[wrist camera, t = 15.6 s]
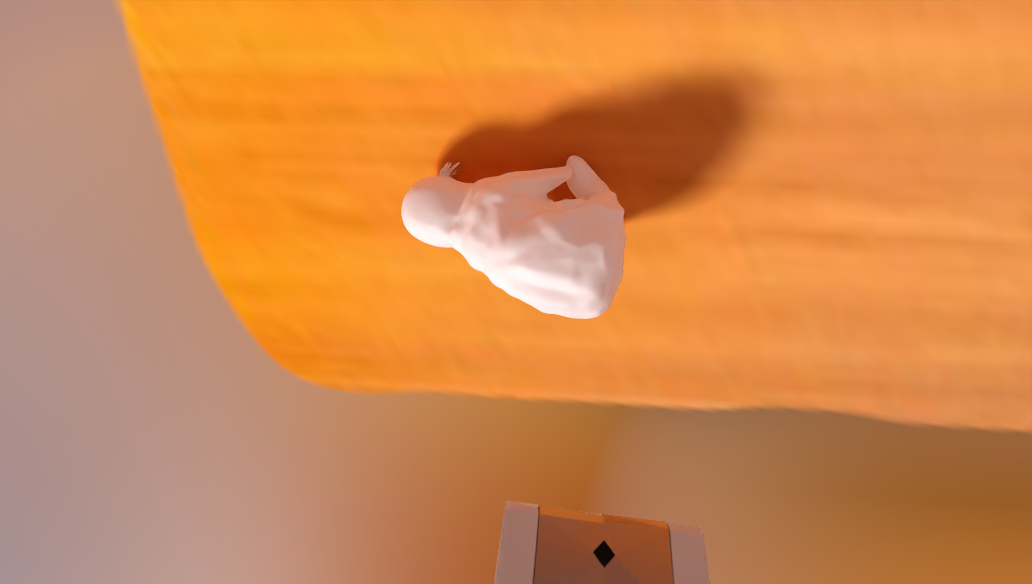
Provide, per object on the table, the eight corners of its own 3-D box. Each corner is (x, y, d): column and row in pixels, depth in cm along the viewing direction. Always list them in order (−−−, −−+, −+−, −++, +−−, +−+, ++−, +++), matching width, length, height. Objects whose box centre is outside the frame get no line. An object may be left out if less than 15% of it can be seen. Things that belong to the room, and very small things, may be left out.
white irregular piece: (608, 353, 36) (372, 310, 37) (622, 257, 43) (421, 224, 44) (630, 246, 32) (366, 202, 34) (641, 158, 39) (421, 125, 40)
